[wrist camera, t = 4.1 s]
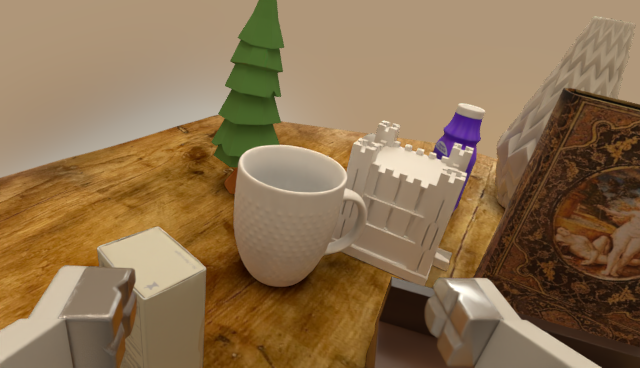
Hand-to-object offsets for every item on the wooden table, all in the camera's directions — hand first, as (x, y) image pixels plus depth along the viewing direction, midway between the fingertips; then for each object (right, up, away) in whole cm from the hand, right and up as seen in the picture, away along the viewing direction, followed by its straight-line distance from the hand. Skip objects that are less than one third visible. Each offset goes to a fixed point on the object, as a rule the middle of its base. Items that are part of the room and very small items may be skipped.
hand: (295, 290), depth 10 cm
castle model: (+11, -6, +43) cm, 44 cm away
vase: (+38, -2, +61) cm, 72 cm away
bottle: (+21, -1, +56) cm, 59 cm away
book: (+26, -13, +34) cm, 45 cm away
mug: (-3, -7, +34) cm, 35 cm away
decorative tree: (-11, +2, +49) cm, 50 cm away
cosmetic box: (-12, -13, +20) cm, 26 cm away
